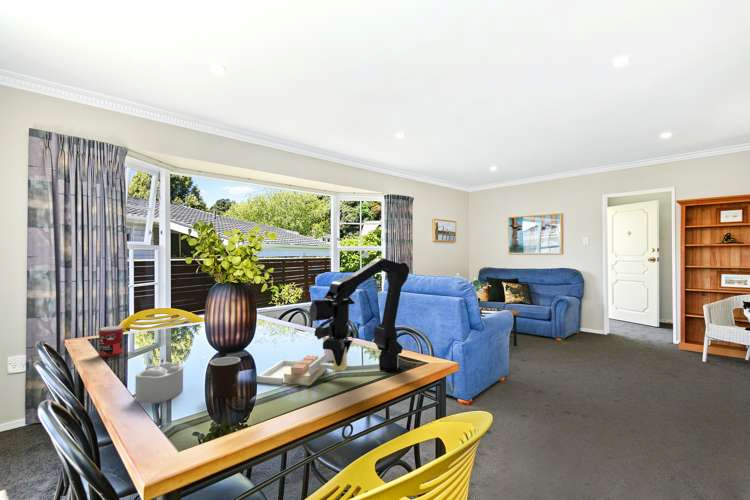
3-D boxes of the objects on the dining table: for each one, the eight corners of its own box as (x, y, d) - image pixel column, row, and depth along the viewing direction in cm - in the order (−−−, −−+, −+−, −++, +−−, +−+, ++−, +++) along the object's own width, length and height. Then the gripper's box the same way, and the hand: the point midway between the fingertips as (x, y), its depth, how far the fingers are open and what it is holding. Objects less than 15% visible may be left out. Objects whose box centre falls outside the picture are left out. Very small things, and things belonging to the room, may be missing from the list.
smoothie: (339, 357, 148) (339, 323, 148) (336, 362, 141) (336, 326, 142) (323, 357, 148) (324, 322, 149) (319, 361, 142) (320, 325, 142)
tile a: (318, 361, 132) (318, 356, 132) (313, 365, 128) (313, 359, 128) (307, 360, 133) (307, 355, 133) (303, 364, 129) (303, 358, 129)
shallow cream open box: (326, 369, 133) (326, 361, 133) (309, 385, 117) (309, 376, 117) (303, 367, 134) (303, 359, 134) (283, 383, 119) (284, 373, 119)
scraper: (351, 362, 130) (351, 342, 130) (338, 376, 116) (338, 354, 116) (324, 360, 132) (324, 341, 132) (308, 374, 118) (308, 352, 118)
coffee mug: (229, 401, 104) (229, 366, 104) (202, 398, 106) (203, 364, 106) (251, 386, 116) (251, 355, 116) (226, 384, 117) (227, 353, 117)
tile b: (312, 365, 127) (312, 360, 127) (308, 369, 123) (308, 363, 123) (302, 365, 128) (302, 359, 128) (297, 368, 124) (297, 362, 124)
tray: (305, 366, 136) (305, 361, 136) (281, 384, 117) (281, 378, 117) (282, 364, 138) (283, 359, 138) (256, 382, 119) (256, 376, 119)
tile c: (307, 370, 122) (307, 364, 122) (302, 374, 119) (302, 368, 119) (296, 369, 123) (296, 363, 123) (291, 373, 119) (291, 367, 119)
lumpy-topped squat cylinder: (129, 401, 104) (129, 371, 104) (162, 385, 117) (162, 358, 117) (162, 404, 102) (162, 373, 102) (192, 387, 115) (192, 359, 115)
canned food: (94, 356, 147) (94, 328, 147) (113, 350, 155) (113, 325, 155) (108, 357, 145) (108, 330, 145) (127, 352, 153) (127, 326, 153)
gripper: (327, 312, 134) (326, 354, 134) (307, 322, 116) (307, 371, 116) (356, 313, 132) (356, 356, 132) (340, 323, 113) (340, 373, 113)
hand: (340, 364), depth 123 cm, fingers closed on scraper, 3 cm apart
